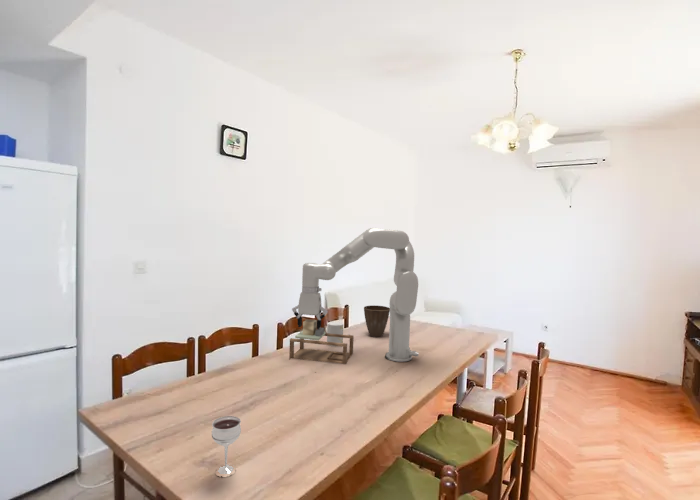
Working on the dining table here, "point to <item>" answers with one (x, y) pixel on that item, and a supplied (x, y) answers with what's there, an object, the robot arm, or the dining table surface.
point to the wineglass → (226, 436)
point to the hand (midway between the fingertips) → (309, 327)
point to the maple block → (309, 327)
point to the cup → (335, 331)
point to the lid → (317, 336)
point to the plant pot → (376, 319)
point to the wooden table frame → (322, 354)
